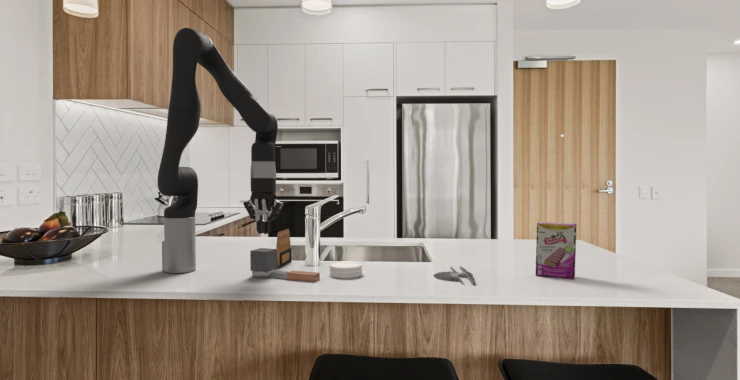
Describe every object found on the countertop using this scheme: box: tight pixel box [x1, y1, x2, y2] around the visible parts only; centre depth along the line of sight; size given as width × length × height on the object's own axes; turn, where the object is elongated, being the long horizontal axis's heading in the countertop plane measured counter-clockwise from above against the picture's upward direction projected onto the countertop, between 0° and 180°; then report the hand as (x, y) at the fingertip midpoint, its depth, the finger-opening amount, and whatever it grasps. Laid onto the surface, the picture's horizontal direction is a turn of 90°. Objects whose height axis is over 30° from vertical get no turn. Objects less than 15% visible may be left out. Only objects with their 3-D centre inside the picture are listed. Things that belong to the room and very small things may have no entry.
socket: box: [249, 247, 277, 272], centre depth 141 cm, size 6×6×6 cm
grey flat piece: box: [433, 265, 476, 286], centre depth 142 cm, size 28×28×1 cm
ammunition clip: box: [275, 228, 292, 269], centre depth 158 cm, size 11×2×12 cm, turn 170°
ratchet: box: [251, 268, 321, 283], centre depth 139 cm, size 22×7×7 cm, turn 70°
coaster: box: [329, 261, 363, 279], centre depth 143 cm, size 10×10×4 cm
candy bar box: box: [535, 221, 577, 280], centre depth 141 cm, size 11×5×16 cm, turn 65°
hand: (263, 233), depth 141 cm, fingers closed
